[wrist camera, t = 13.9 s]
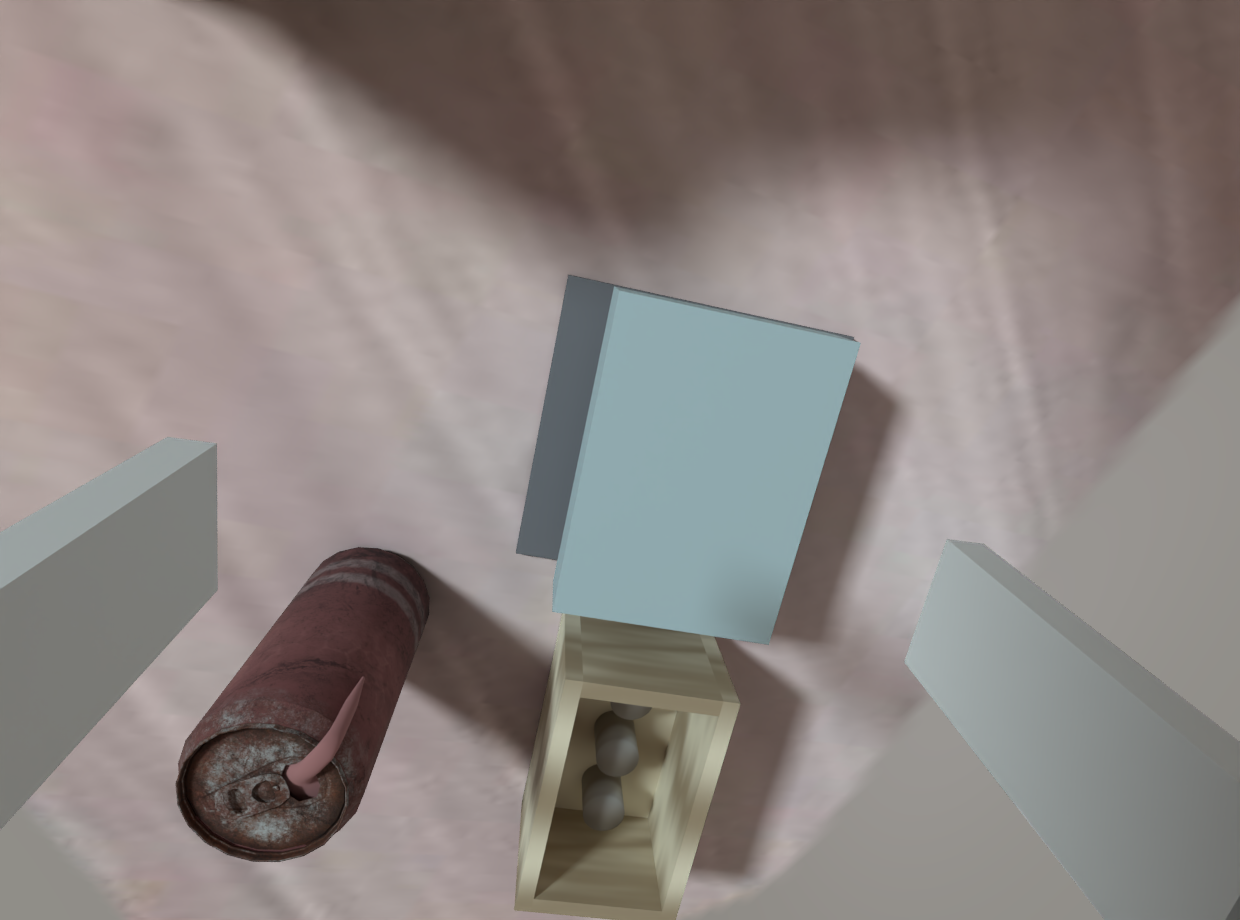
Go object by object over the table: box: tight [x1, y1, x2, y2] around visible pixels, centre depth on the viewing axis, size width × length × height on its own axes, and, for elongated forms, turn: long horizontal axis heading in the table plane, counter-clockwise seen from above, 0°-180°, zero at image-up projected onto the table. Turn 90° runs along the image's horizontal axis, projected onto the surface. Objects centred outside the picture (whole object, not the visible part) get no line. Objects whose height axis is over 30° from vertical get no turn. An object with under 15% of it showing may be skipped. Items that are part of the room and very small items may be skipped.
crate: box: [514, 613, 740, 920], centre depth 36 cm, size 13×8×7 cm, turn 168°
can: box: [176, 547, 429, 862], centre depth 30 cm, size 6×6×14 cm
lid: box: [552, 286, 860, 645], centre depth 32 cm, size 14×10×6 cm
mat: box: [516, 275, 854, 560], centre depth 35 cm, size 14×14×1 cm
